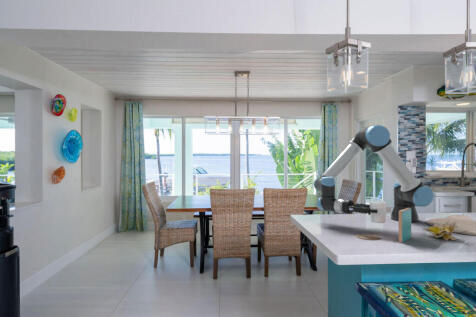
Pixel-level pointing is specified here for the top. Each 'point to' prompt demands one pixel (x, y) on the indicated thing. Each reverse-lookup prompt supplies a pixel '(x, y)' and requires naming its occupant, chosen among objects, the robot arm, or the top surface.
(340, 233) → the top surface
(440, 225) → the decorative flower
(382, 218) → the white cup
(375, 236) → the coaster
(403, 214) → the tile
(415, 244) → the mat
